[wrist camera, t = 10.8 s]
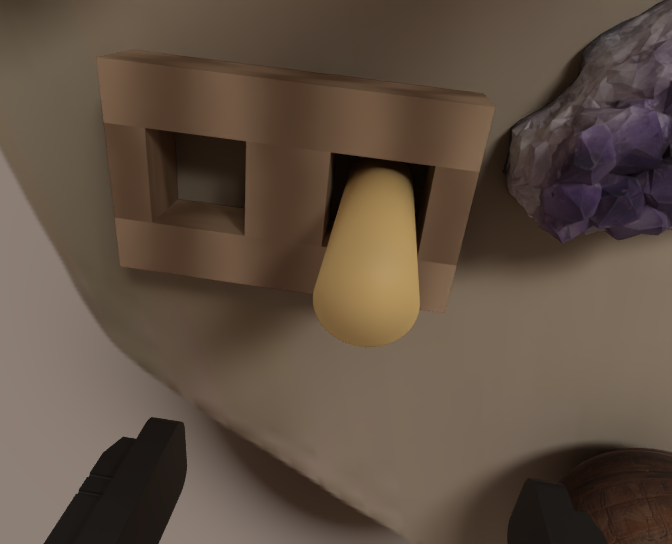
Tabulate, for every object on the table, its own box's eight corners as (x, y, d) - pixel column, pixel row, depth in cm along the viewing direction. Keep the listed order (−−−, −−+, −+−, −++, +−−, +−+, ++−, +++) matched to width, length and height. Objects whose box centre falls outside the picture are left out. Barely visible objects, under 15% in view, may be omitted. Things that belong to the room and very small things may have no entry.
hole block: (483, 93, 28) (495, 107, 25) (440, 280, 34) (444, 313, 31) (132, 50, 29) (96, 57, 26) (148, 239, 35) (120, 266, 32)
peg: (418, 156, 30) (429, 263, 18) (406, 218, 32) (409, 353, 20) (351, 147, 31) (317, 247, 18) (344, 210, 33) (308, 338, 20)
